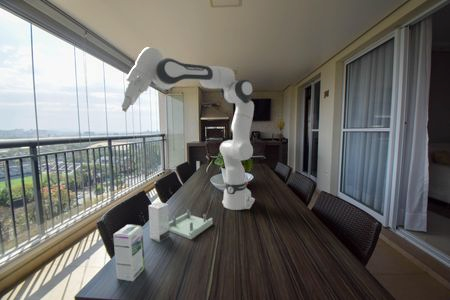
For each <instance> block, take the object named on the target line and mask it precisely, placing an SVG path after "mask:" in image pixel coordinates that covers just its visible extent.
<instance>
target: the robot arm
mask: <svg viewBox="0 0 450 300" xmlns="http://www.w3.org/2000/svg"><path fill="white" fill-rule="evenodd" d="M134 64H135V65H134V66H132V68H131V70H130V71H129V73H128V75H127V77H126V81H127V86H126V89H125V91H124V99H123V102H122V104H121V108H122V112H124V113H126V112H127V111H128V110H129V108H130V106H133V105H134V104H135V103H136V101H137V100H138V99H139V97H140V96H141V95H142V94H143V93H144V92H145V91H146V92H147V91H148V89H149V88H150V85H151V83H153V84H155V86H157V87H158V88H159V89H161V90H167V91H168V90H170V89H172V88H173V87H174V86H175V85H176V84H177V83H179V82H180V81H183V80H191V81H199V82H200V84H201V86H202V87H203V88H206V89H214V90H215V89H220V92H221V94H220V95H221V98H222V100H223V102H225V104H230V105H231V104H235V111H234V114H233V118H232V122H231V126H230V130H231V133H232V139H228V140H224V141H223V142H221V143H220V145H219V152H220V154H221V156H222V158H223V162H224V167H225V168H224V169H225V183H224V185H225V188H224V190H223V200H222V201H221V203H222V205H223V207H224V208H226V209H227V210H231V211H240V210H241V211H242V210H250V209H251V208H252V206H253V204H254V203H255V200H256V199H255V198H254V197H252V192H251V190H250V189H248V188H247V185H248V183H249V182H248V181H247V180H246V179H245V178H246V176H245V175H246V172H245V167H244V166H243V163H242V161H246V160H250V159H251V158H252V156H253V153H254V147H253V145H252V144H251V140H250V132H251V127H252V124H253V123H252V122H253V117H254V111H255V104H254V102H253V101H252V99H253V97H254V96H253V94H254V88H253V83H252V82H251V81H250V80H249V79H239V80H236V78H235V77H236V76H235V72H234V71H233V70H232V68H230V67H225V66H219V65H213V66H212V65H211V66H210V65H203V64H201V65H200V64H193V63H192V64H191V63H184V62H183V63H182V62H180V61H178V60H175V59H174V58H170V57H167V58H166V57H165V58H164V56H163V54H162V52H161V51H160V50H158V49H156V48H155V47H149V46H148V47H145V48H144V49H143V50H142V51H141V53H140V54H139V55H138V57H137V59H136V60H135V63H134Z"/></svg>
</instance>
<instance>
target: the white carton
mask: <svg viewBox="0 0 450 300" xmlns="http://www.w3.org/2000/svg"><path fill="white" fill-rule="evenodd" d="M169 218H170V217H169V204H168V203H164V202H161V201H157V202H155V203H152V204H149V205H148V221H149V223H148V224H149V237H150V240H154V241H155V242H158V243H161V242H163V241H165V240H166V239H168V238H169V237H170V231H169V222H170V220H169Z"/></svg>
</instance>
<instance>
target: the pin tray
mask: <svg viewBox="0 0 450 300" xmlns="http://www.w3.org/2000/svg"><path fill="white" fill-rule="evenodd" d="M202 217H203V218H202ZM202 217H199V216H195V215H193V214H191V209H187V210H186V213H184V214H182V215H180V216H178V217H176V216H173V217H172V220H171V221H170V220H169V232H171V233H174V234H175V235H176V234H177V235H179V236H182V237H184V238H186V239H189V240H193V239H194V238H195V237H197V236H199V234H200V233H202V232H204V231H206V229H208V228H209V227H211V226H212V225H213V223H214V222H213V217H210V218H208V219H207V215H206V214H205V213H204V214H203V215H202Z"/></svg>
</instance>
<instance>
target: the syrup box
mask: <svg viewBox="0 0 450 300" xmlns="http://www.w3.org/2000/svg"><path fill="white" fill-rule="evenodd" d="M143 233H144V232H143V226H142V225H138V224H126V225H125V226H124V227H122V228H120V229H119V230H118V231H116V232H115V233H113V245H114V246H113V247H114V259H115V260H114V261H115V269H116V271H115V272H116V278H117V280H122V281H128V282H134V281H135V280H136V278H137V277H138V276H139V275H140V274H141V273H143V271H144V270H145V268H146V263H145V262H146V261H145V249H144V235H143Z"/></svg>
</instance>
